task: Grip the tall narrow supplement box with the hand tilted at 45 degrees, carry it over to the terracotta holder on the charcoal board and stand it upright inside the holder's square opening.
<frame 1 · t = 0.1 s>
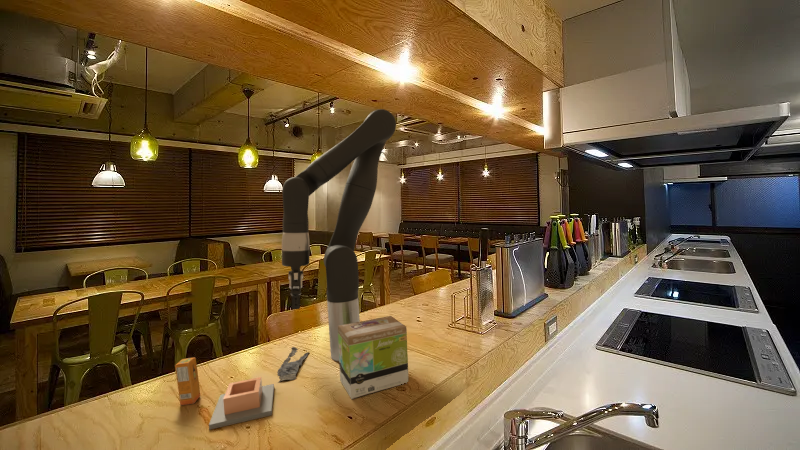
hand: (295, 304, 94), 17 cm above the counter, tool pointing down, fingers open, 8 cm apart
tea box: (374, 383, 83), on the counter
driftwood: (294, 366, 96), on the counter
terracotta holder: (243, 394, 75), on the slate board, point 3 cm above the counter
slate board: (244, 406, 75), on the counter
supplement box: (189, 402, 79), on the counter
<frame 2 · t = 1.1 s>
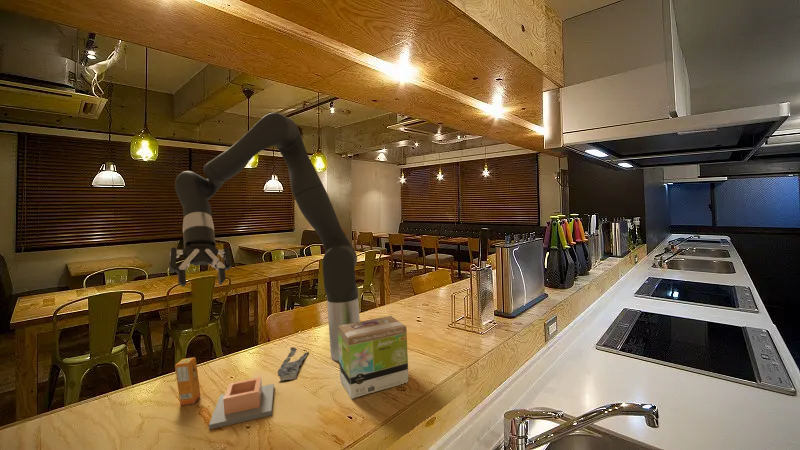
hand: (203, 284, 86), 26 cm above the counter, tool tilted 35°, fingers open, 8 cm apart
nothing on the counter moved.
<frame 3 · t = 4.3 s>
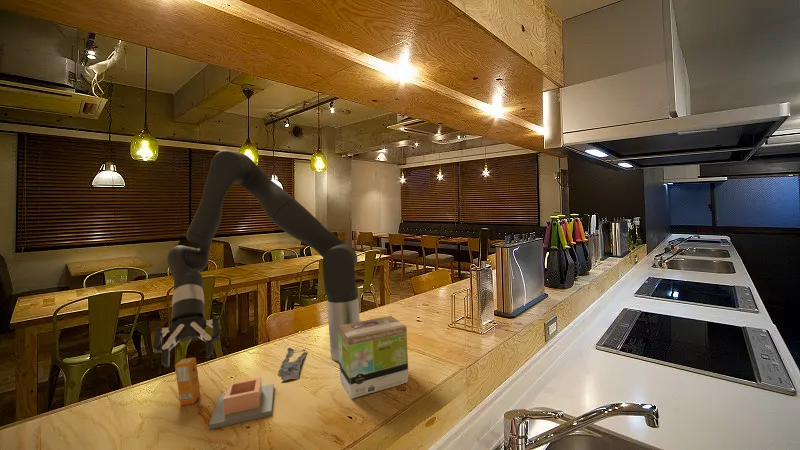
hand: (187, 361, 82), 8 cm above the counter, tool tilted 45°, fingers open, 8 cm apart
nothing on the counter moved.
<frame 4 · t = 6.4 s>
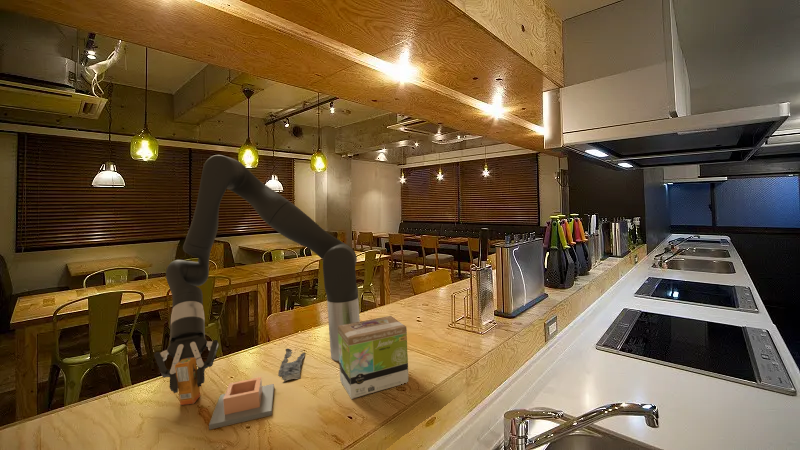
hand: (187, 388, 77), 4 cm above the counter, tool tilted 45°, fingers closed on supplement box, 4 cm apart
supplement box: (189, 401, 79), on the counter, touching gripper
everything else where it was.
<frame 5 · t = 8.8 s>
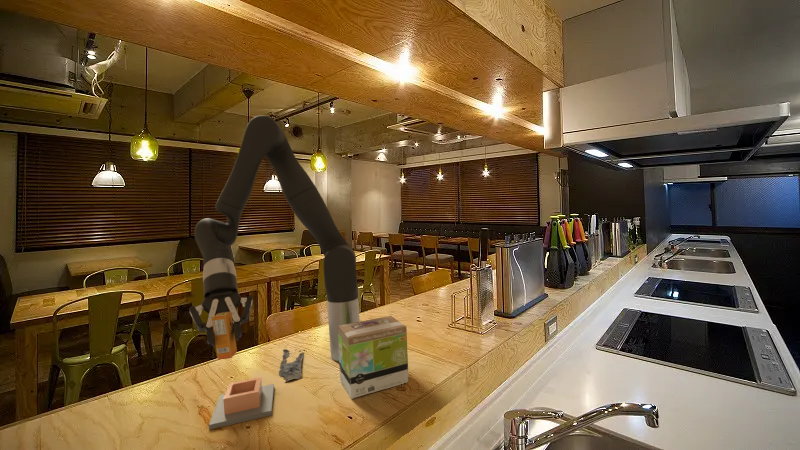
hand: (225, 341, 74), 15 cm above the counter, tool tilted 45°, fingers closed on supplement box, 4 cm apart
supplement box: (226, 357, 76), point 11 cm above the counter, touching gripper
when the fingers open (6 cm above the counter, at t = 11.9 s): supplement box stays where it is, resting on slate board.
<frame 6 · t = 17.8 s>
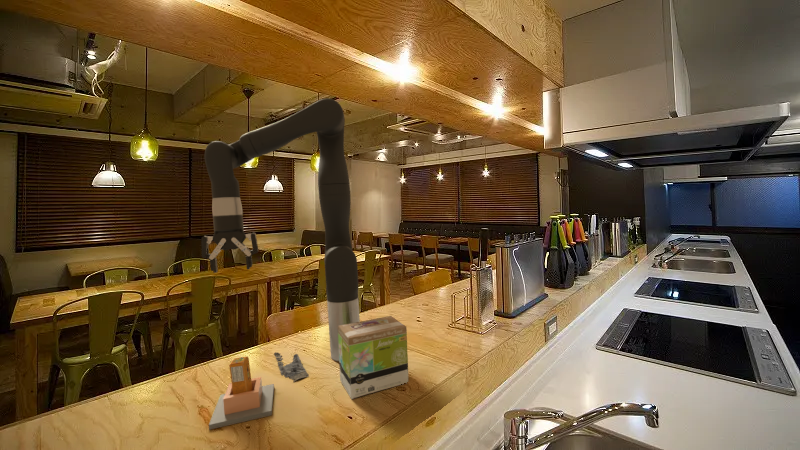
hand: (232, 270, 95), 28 cm above the counter, tool pointing down, fingers open, 8 cm apart
supplement box: (243, 403, 75), point 1 cm above the counter, touching slate board
at the end: supplement box 0.3 cm off-centre on the terracotta holder, point 0.8 cm above the terracotta holder's base; supplement box tilted 0°; the gripper is holding nothing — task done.
